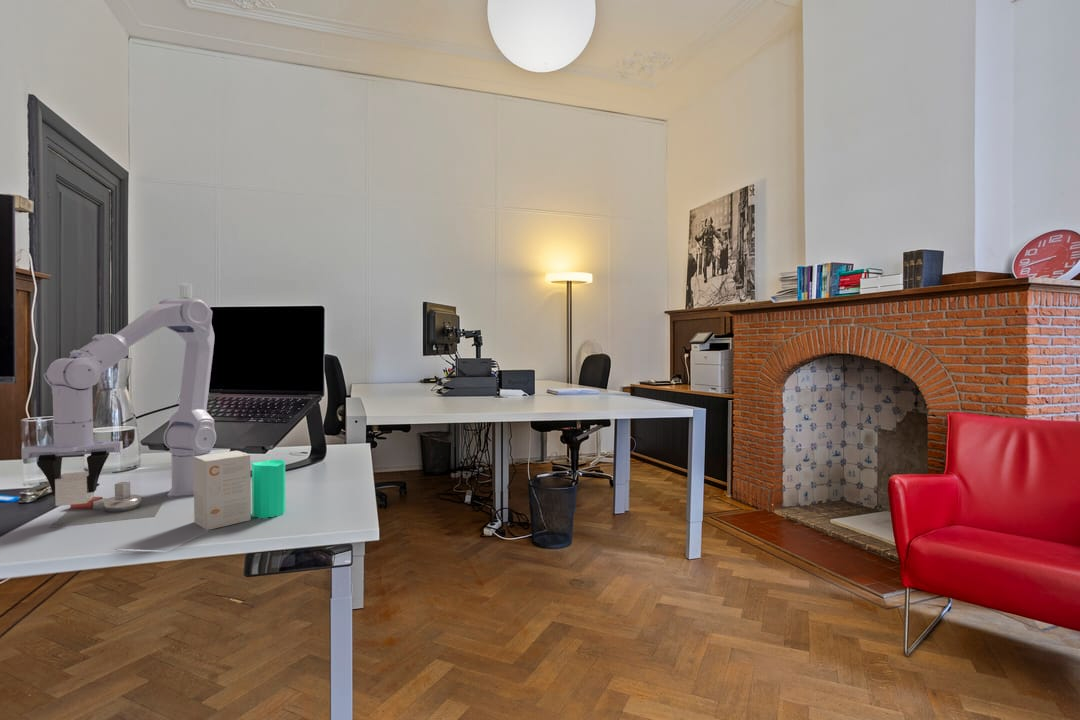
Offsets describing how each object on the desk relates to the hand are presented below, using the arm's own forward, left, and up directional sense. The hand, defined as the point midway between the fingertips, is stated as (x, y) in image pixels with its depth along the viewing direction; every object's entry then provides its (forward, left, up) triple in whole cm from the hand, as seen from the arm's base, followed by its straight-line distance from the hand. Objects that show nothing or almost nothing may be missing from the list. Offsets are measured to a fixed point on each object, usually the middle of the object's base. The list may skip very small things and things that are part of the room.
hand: (75, 492), depth 104 cm
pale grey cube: (0, 0, -2) cm, 2 cm away
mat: (-5, -5, -6) cm, 9 cm away
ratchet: (-3, -7, -5) cm, 10 cm away
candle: (-33, +9, -6) cm, 35 cm away
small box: (-25, +11, -6) cm, 28 cm away
